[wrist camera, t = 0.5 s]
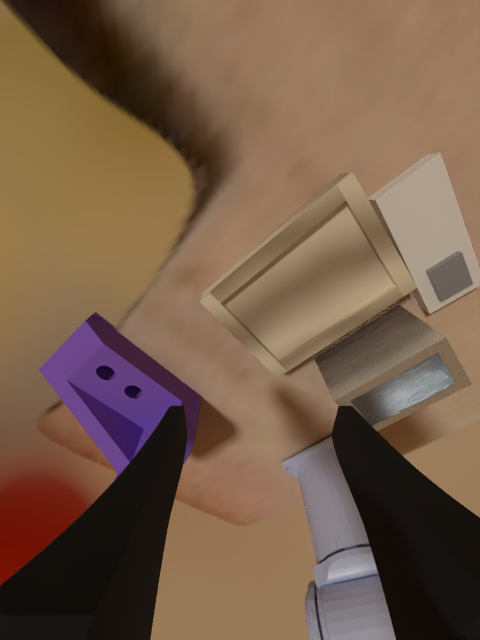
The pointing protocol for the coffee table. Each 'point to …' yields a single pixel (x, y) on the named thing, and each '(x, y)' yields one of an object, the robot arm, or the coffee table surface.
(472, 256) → the block
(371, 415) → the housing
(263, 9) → the coffee table surface
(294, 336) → the beige shallow tray
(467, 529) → the robot arm
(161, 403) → the bracket
